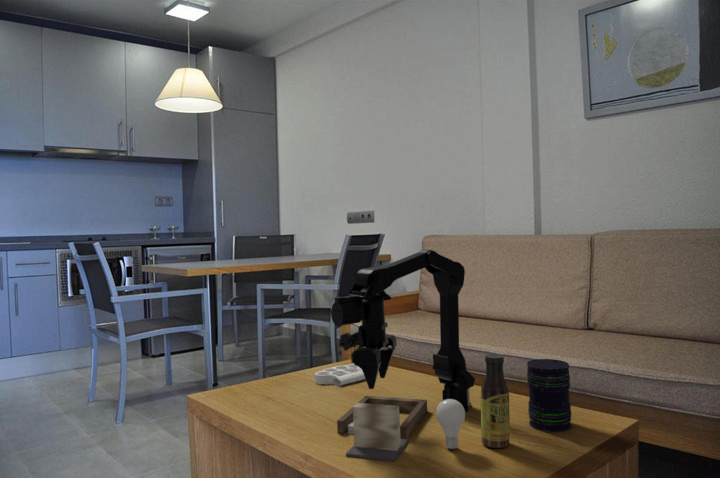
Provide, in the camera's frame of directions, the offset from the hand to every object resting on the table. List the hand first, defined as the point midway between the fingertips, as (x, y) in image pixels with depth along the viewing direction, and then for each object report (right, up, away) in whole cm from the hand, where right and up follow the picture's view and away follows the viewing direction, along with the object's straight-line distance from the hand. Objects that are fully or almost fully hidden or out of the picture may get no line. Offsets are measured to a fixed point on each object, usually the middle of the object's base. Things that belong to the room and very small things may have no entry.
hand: (377, 383), depth 136 cm
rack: (+2, -11, +6) cm, 13 cm away
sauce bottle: (+26, -11, -12) cm, 31 cm away
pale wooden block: (0, -11, -12) cm, 16 cm away
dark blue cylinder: (+42, -10, -2) cm, 43 cm away
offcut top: (-1, -11, -2) cm, 11 cm away
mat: (0, -12, -12) cm, 17 cm away
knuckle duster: (-10, -12, +48) cm, 51 cm away
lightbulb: (+16, -11, -13) cm, 24 cm away
